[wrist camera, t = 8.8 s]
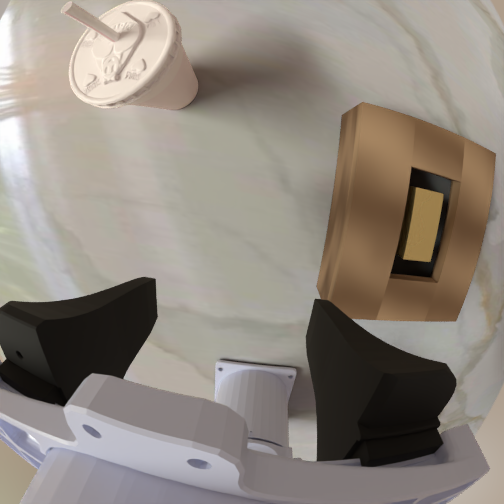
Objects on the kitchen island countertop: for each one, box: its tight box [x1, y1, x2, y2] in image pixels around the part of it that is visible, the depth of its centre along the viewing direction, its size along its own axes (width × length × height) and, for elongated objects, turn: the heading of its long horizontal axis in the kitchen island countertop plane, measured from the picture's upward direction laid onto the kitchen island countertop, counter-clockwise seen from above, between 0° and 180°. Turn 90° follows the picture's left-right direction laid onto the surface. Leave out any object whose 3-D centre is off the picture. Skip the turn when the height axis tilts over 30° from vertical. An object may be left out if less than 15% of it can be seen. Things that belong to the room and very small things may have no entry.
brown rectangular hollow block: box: [317, 102, 496, 321], centre depth 18 cm, size 14×12×5 cm
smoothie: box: [61, 0, 198, 110], centre depth 12 cm, size 6×6×14 cm
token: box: [396, 186, 444, 262], centre depth 18 cm, size 5×2×4 cm, turn 176°
